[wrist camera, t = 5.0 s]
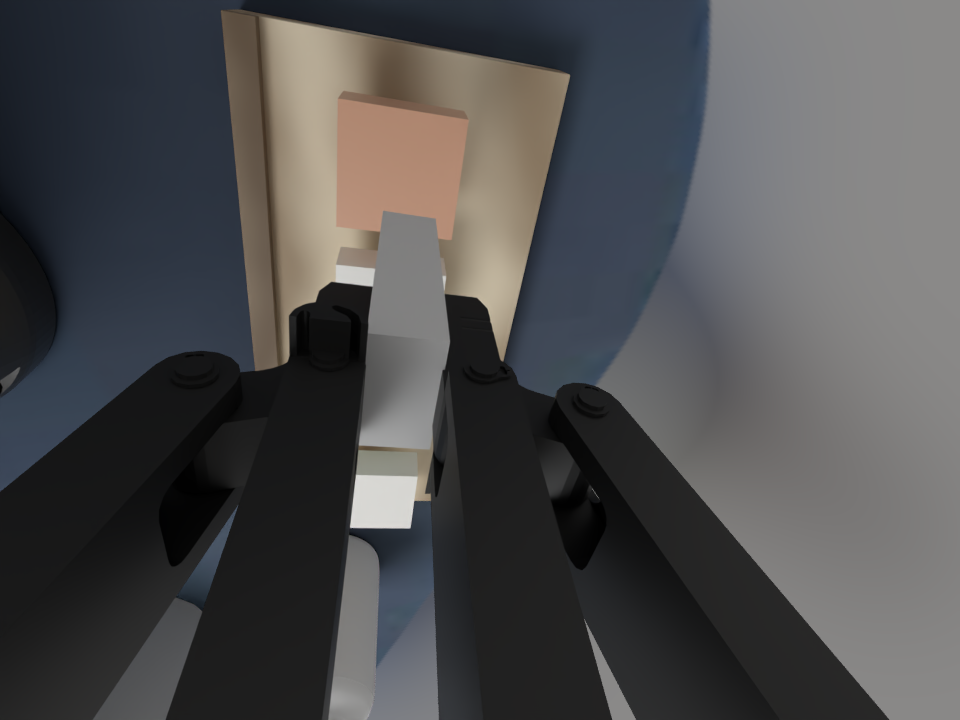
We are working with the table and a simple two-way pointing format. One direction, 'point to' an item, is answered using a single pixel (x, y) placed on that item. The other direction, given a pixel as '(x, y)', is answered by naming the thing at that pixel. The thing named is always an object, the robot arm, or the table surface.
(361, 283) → the white key
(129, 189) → the table surface
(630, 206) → the table surface
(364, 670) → the pill bottle
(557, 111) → the keypad board
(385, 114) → the key terracotta
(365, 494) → the white key
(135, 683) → the cup
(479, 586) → the robot arm
